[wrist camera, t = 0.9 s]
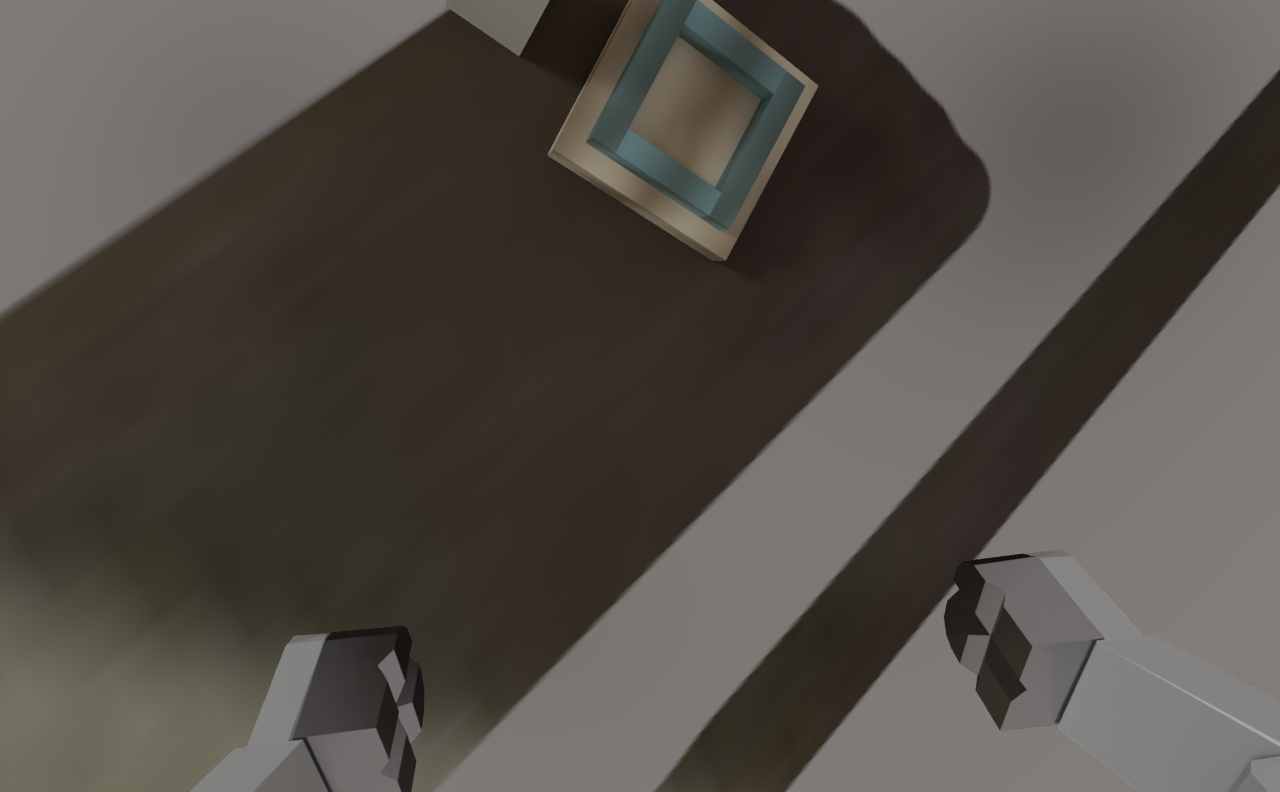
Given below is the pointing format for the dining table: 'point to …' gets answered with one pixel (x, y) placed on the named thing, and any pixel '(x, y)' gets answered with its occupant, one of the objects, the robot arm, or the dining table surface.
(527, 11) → the cream pillar
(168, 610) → the dining table surface
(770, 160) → the birch base board
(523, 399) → the dining table surface
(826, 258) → the dining table surface
